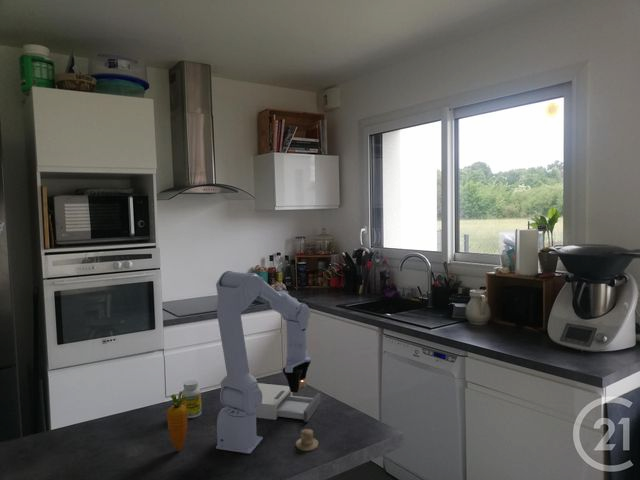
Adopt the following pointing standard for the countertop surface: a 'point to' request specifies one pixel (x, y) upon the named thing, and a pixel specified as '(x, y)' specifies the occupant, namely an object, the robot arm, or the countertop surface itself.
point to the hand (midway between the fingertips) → (297, 388)
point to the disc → (302, 383)
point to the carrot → (177, 421)
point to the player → (271, 399)
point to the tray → (298, 407)
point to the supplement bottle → (192, 398)
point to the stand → (307, 441)
